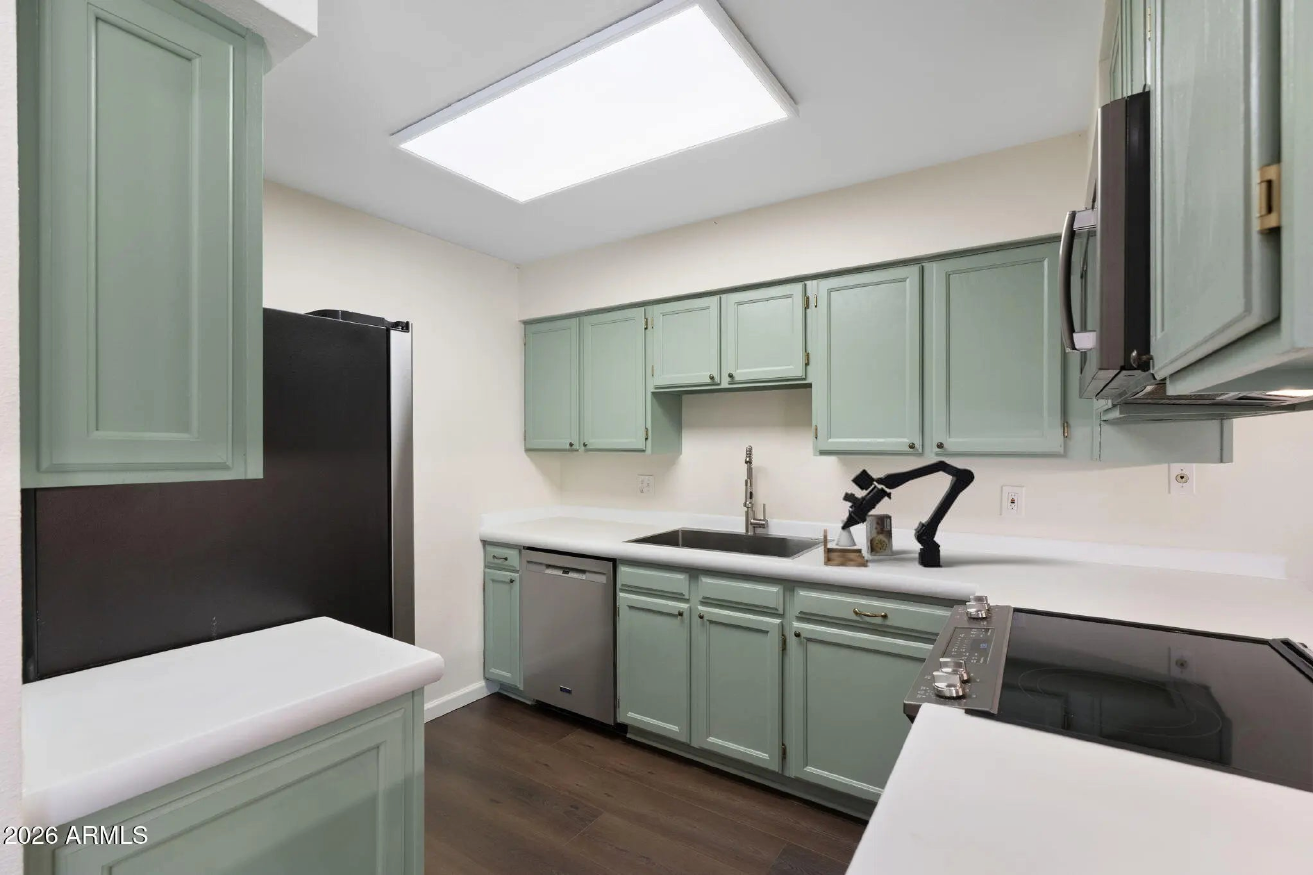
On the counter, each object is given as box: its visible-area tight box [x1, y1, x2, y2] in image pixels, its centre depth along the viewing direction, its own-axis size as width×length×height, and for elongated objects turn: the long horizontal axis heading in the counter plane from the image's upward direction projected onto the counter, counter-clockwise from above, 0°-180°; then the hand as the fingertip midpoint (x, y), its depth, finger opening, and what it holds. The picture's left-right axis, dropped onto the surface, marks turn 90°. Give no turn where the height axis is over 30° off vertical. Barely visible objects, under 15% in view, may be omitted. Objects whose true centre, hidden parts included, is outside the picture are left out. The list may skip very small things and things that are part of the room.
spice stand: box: [822, 529, 867, 568], centre depth 229 cm, size 15×14×12 cm
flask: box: [835, 518, 857, 548], centre depth 229 cm, size 7×7×10 cm
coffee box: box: [865, 513, 894, 557], centre depth 243 cm, size 9×6×16 cm
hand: (841, 528), depth 229 cm, fingers closed on flask, 3 cm apart
